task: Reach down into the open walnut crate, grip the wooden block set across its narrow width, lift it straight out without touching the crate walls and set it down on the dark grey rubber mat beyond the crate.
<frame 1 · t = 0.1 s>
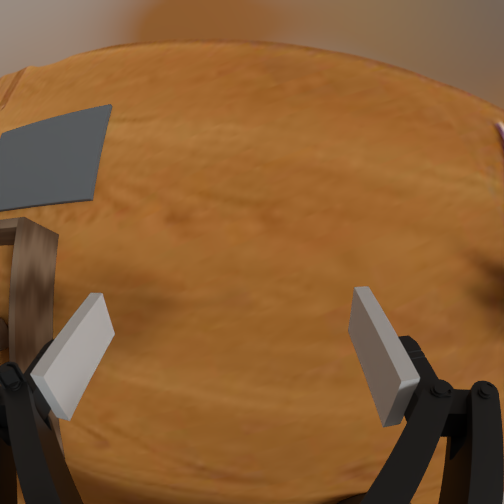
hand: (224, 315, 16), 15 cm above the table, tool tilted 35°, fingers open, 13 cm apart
mat: (38, 161, 36), on the table
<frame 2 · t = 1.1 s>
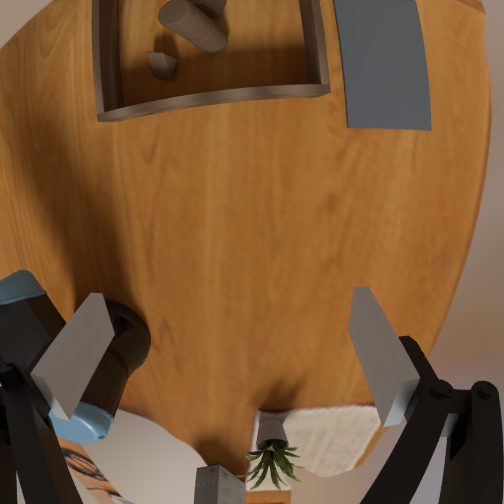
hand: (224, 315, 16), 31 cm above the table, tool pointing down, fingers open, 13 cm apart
wooden block set: (199, 24, 35), on the table
hard drive box: (221, 475, 74), on the table
house plant: (264, 425, 64), on the table
mat: (385, 57, 37), on the table
crate: (207, 25, 35), on the table
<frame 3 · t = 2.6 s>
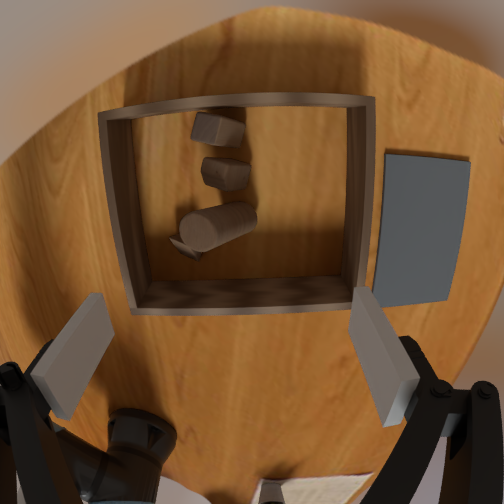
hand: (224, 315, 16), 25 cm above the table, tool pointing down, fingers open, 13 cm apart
wooden block set: (221, 191, 38), on the table
house plant: (266, 486, 68), on the table
mat: (422, 235, 40), on the table
crate: (241, 198, 38), on the table
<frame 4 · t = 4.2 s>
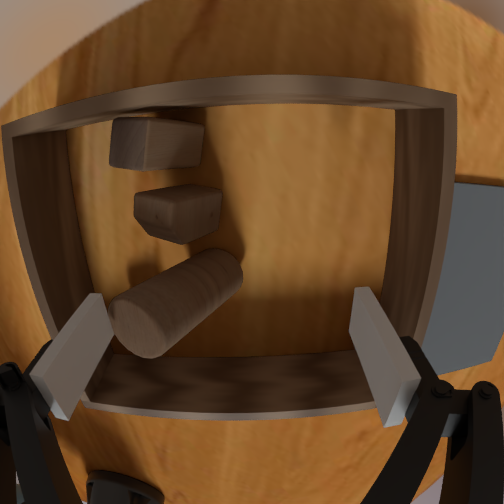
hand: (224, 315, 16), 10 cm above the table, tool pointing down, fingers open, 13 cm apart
wooden block set: (185, 235, 25), on the table, touching gripper
mat: (477, 289, 27), on the table
crate: (231, 249, 25), on the table
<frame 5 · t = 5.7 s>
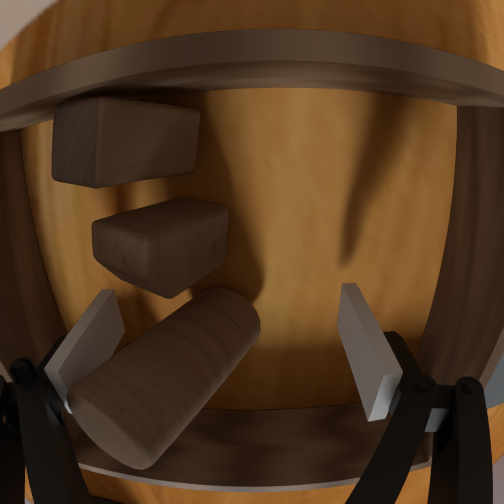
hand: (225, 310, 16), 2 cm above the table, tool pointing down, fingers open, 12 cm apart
wooden block set: (178, 268, 18), on the table, touching gripper
crate: (235, 290, 18), on the table
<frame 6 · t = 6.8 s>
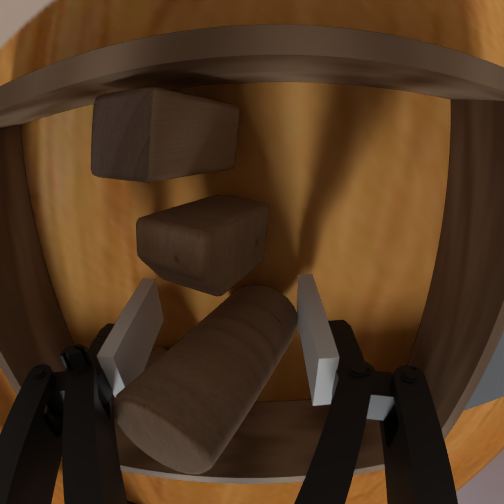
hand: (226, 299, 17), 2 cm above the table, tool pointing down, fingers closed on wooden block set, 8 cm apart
wooden block set: (212, 267, 18), on the table, touching gripper
crate: (232, 281, 19), on the table
when the fingers open (3 cm above the table, at t = 13.0 s): wooden block set drops 1 cm, resting on mat.
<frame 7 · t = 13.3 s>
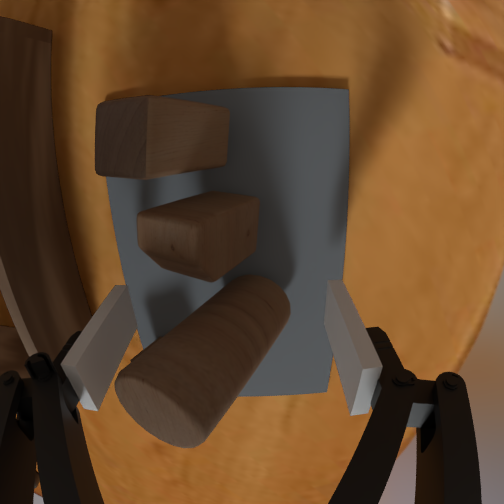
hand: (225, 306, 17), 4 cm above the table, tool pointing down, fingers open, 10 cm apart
wooden block set: (209, 258, 19), resting on mat
mat: (230, 272, 20), on the table
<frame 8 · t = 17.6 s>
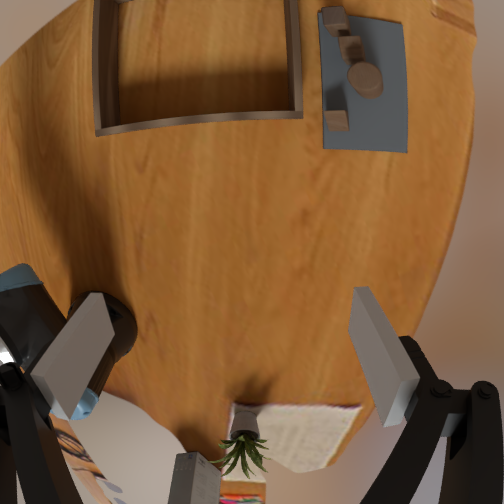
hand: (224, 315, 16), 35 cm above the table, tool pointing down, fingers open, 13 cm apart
wooden block set: (346, 73, 40), resting on mat
hard drive box: (199, 462, 80), on the table
house plant: (239, 417, 70), on the table
mat: (365, 81, 41), on the table
crate: (198, 47, 39), on the table
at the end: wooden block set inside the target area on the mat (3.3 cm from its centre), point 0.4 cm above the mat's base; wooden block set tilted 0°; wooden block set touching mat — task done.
